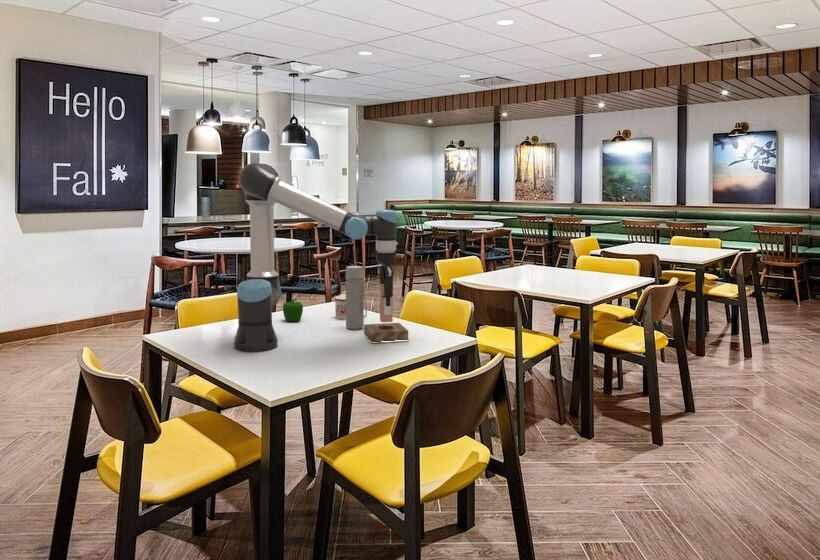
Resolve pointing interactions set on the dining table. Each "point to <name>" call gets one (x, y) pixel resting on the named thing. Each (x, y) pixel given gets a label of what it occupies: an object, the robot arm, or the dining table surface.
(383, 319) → the peg
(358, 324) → the water bottle
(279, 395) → the dining table surface
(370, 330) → the socket block
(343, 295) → the teacup with lid
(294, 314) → the bell pepper
